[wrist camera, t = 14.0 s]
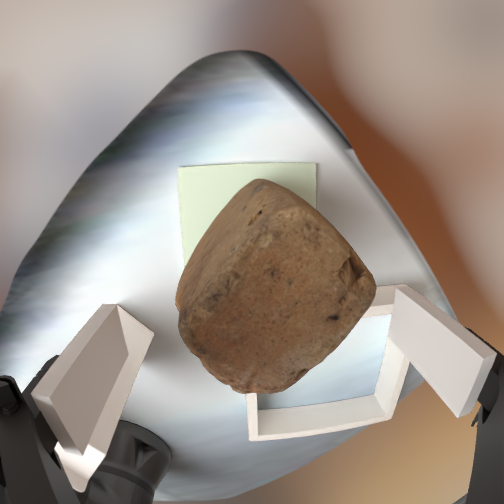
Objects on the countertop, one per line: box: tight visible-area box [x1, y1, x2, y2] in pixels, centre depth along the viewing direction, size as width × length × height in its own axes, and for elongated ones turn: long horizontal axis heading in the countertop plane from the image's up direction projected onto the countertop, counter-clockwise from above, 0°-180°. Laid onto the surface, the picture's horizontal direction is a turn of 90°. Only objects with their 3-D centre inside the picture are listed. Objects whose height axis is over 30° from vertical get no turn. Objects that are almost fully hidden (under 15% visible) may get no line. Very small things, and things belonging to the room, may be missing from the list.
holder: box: [246, 284, 410, 441], centre depth 34 cm, size 20×19×5 cm
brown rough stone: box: [175, 179, 377, 394], centre depth 21 cm, size 11×8×20 cm
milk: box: [54, 305, 154, 492], centre depth 24 cm, size 6×6×22 cm
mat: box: [177, 163, 316, 266], centre depth 31 cm, size 14×14×1 cm
